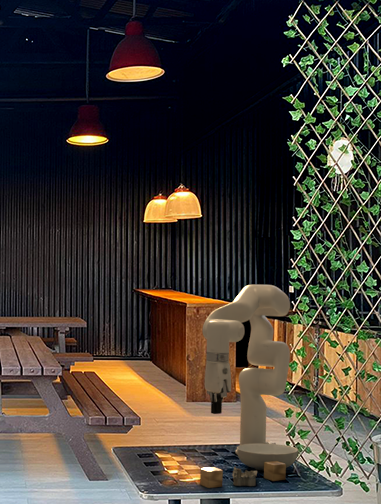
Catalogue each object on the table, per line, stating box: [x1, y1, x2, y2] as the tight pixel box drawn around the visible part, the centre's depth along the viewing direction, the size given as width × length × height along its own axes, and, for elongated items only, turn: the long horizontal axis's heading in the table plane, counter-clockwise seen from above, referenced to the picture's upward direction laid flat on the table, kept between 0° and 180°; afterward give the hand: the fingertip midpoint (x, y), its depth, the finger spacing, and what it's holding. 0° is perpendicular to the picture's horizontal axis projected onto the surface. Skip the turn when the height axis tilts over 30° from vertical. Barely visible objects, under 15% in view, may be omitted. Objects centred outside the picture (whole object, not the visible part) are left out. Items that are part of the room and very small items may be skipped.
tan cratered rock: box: [232, 466, 258, 487], centre depth 265 cm, size 11×8×4 cm
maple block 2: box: [263, 461, 287, 482], centre depth 272 cm, size 5×5×5 cm
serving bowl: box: [236, 443, 299, 472], centre depth 288 cm, size 21×21×7 cm
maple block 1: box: [199, 466, 224, 489], centre depth 260 cm, size 5×5×5 cm
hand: (216, 413), depth 282 cm, fingers closed
